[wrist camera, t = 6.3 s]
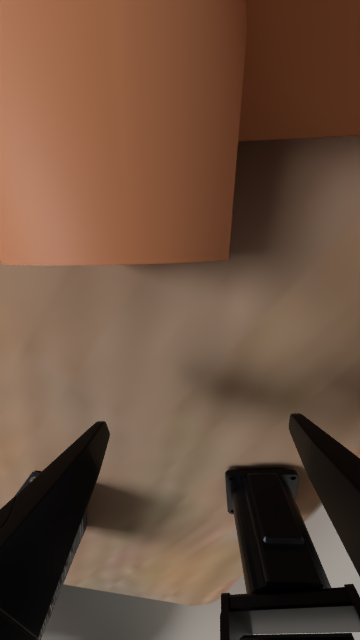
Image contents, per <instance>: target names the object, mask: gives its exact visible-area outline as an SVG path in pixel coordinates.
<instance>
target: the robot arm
mask: <svg viewBox="0 0 360 640" xmlns="http://www.w3.org/2000/svg"><path fill="white" fill-rule="evenodd" d="M289 430H290V433H291V436H292V438H293V441H294V443H295V446H296V448H297V451H298V453H299V455H300V458H301V460H302V463H303V465H304V468H305V470H306V472H307V474H308V476H309V478H310V480H311V482H312V484H313V486H314V488H315V490H316V492H317V494H318V496H319V498H320V500H321V502H322V504H323V506H324V508H325V510H326V512H327V514H328V516H329V517H330V519H331V521H332V523H333V525H334V527H335V529H336V531H337V533H338V535H339V537H340V539H341V541H342V543H343V545H344V547H345V549H346V551H347V553H348V555H349V556H350V558H351V561H352V562H353V564H354V566H355V568H356V570H357V572H358V574H359V576H360V458H358V457H357V456H356V455H355V454H353V453H352V452H351V451H349V450H348V449H347V448H345V447H344V446H343V445H341V444H340V443H339V442H337V441H336V440H335V439H334V438H332V437H331V436H330V435H328V434H327V433H326V432H324V431H323V430H322V429H320V428H319V427H318V426H316V425H315V424H314V423H313V422H311V421H310V420H309V419H307V418H306V417H305V416H303V415H302V414H300V413H295V414H291V415H290V421H289ZM109 436H110V433H109V430H108V427H107V424H106V422H105V421H98V422H96V423H95V424H94V425H93V426H91V427H90V428H89V429H88V430H87V431H86V432H85V433H84V434H83V435H82V436H80V437H79V438H78V439H77V440H76V441H75V442H74V443H73V444H72V445H71V446H70V447H68V448H67V449H66V450H65V451H64V452H63V453H62V454H61V455H60V456H59V457H57V458H56V459H55V460H54V461H53V462H52V463H51V464H50V465H49V466H48V467H46V468H45V469H44V470H43V471H42V472H41V473H40V474H39V475H38V476H37V477H35V478H34V479H33V480H32V481H31V482H30V483H29V484H28V485H27V486H26V487H25V488H23V489H22V490H21V491H20V492H19V493H18V494H17V495H16V496H15V497H13V498H12V499H11V500H10V501H9V502H8V503H7V504H6V505H5V506H4V507H2V508H1V509H0V640H37V639H38V637H39V635H40V632H41V629H42V626H43V624H44V621H45V618H46V616H47V613H48V610H49V608H50V605H51V602H52V599H53V597H54V594H55V591H56V589H57V586H58V583H59V581H60V578H61V575H62V573H63V570H64V567H65V564H66V562H67V559H68V556H69V554H70V551H71V548H72V546H73V543H74V540H75V537H76V535H77V532H78V529H79V527H80V524H81V521H82V519H83V516H84V513H85V511H86V508H87V505H88V502H89V500H90V497H91V494H92V492H93V489H94V486H95V484H96V481H97V478H98V475H99V472H100V469H101V466H102V462H103V458H104V455H105V451H106V448H107V444H108V440H109ZM225 478H226V494H227V507H228V512H229V513H230V514H234V517H235V523H236V529H237V535H238V542H239V548H240V554H241V560H242V567H243V573H244V579H245V585H246V591H247V594H238V595H230V594H229V593H222V594H221V614H220V640H354V638H353V636H352V633H335V634H284V635H283V634H280V633H327V632H328V633H331V632H360V597H359V595H358V593H357V591H356V589H355V587H354V585H353V584H348V585H344V586H345V587H342V588H341V587H340V588H331V586H330V584H329V581H328V579H327V577H326V574H325V571H324V569H323V567H322V564H321V562H320V559H319V557H318V555H317V552H316V550H315V547H314V545H313V543H312V540H311V538H310V535H309V533H308V531H307V528H306V526H305V523H304V521H303V519H302V516H301V514H300V511H299V509H298V507H297V504H296V502H295V500H296V494H297V487H298V481H299V476H298V474H297V472H296V471H295V470H228V471H226V472H225ZM277 633H278V634H280V635H253V634H277Z"/></svg>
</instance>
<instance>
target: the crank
mask: <svg viewBox="0 0 360 640" xmlns="http://www.w3.org/2000/svg"><path fill="white" fill-rule="evenodd" d="M356 135H360V0H0V260H1V262H2V264H6V265H129V264H164V263H190V262H209V261H222V260H228V259H229V248H230V235H231V223H232V211H233V198H234V186H235V174H236V161H237V149H238V141H257V140H277V139H297V138H317V137H336V136H356Z"/></svg>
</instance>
